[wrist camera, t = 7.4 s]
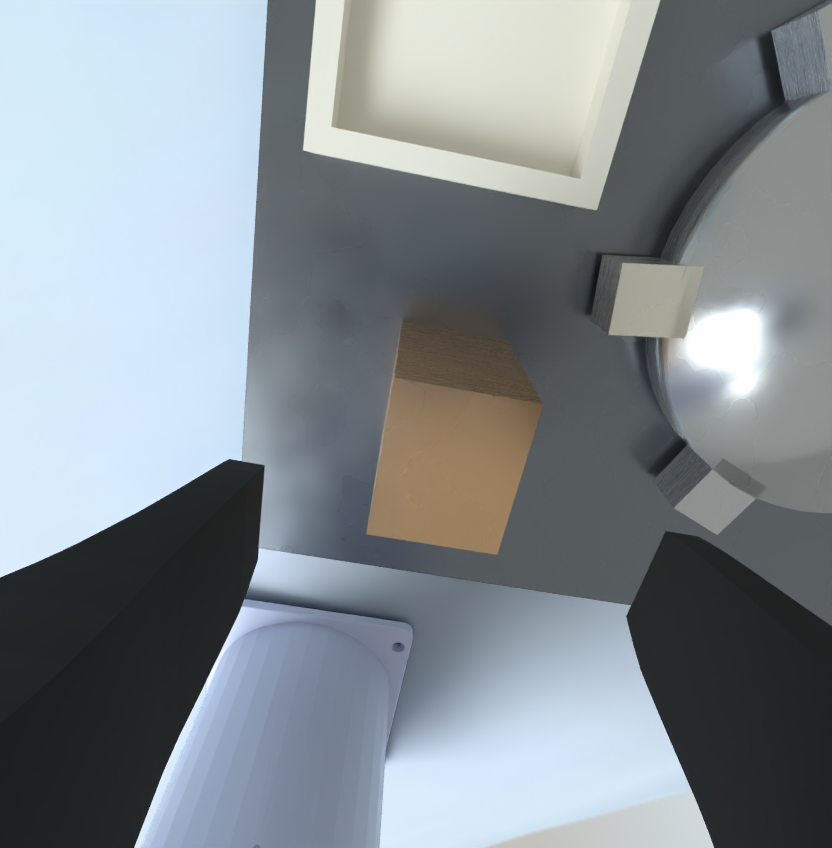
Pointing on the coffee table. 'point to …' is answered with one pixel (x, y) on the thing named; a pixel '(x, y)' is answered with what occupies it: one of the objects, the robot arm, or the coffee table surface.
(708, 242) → the sprocket
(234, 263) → the coffee table surface
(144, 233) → the coffee table surface
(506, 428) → the wood grain block
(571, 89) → the white shallow tray
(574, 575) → the plate
